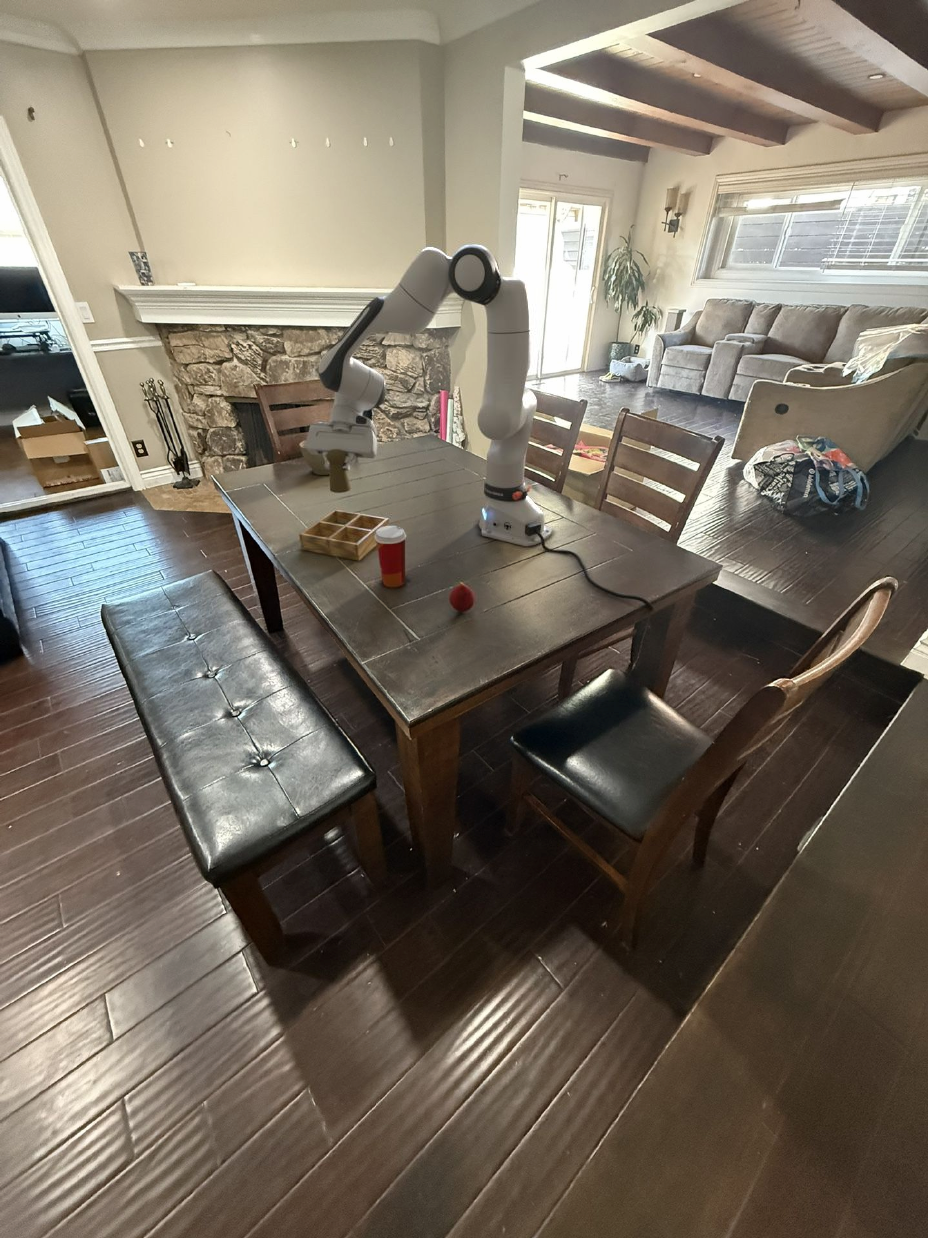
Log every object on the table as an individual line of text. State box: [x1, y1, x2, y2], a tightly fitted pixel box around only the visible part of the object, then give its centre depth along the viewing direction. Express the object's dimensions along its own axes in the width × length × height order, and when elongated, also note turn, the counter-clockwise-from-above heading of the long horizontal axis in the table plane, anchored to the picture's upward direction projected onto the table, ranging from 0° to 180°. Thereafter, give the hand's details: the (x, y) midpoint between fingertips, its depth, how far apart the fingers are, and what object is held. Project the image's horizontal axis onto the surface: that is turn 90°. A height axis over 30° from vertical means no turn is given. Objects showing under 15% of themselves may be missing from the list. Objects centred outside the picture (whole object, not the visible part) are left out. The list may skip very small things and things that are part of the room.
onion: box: [449, 581, 476, 614], centre depth 117 cm, size 6×6×8 cm
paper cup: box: [374, 525, 407, 588], centre depth 126 cm, size 8×8×14 cm
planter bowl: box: [299, 439, 330, 476], centre depth 194 cm, size 16×16×11 cm
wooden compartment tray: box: [298, 509, 390, 562], centre depth 148 cm, size 18×18×5 cm
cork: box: [327, 449, 352, 494], centre depth 144 cm, size 6×6×11 cm
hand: (337, 469), depth 143 cm, fingers closed on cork, 4 cm apart
